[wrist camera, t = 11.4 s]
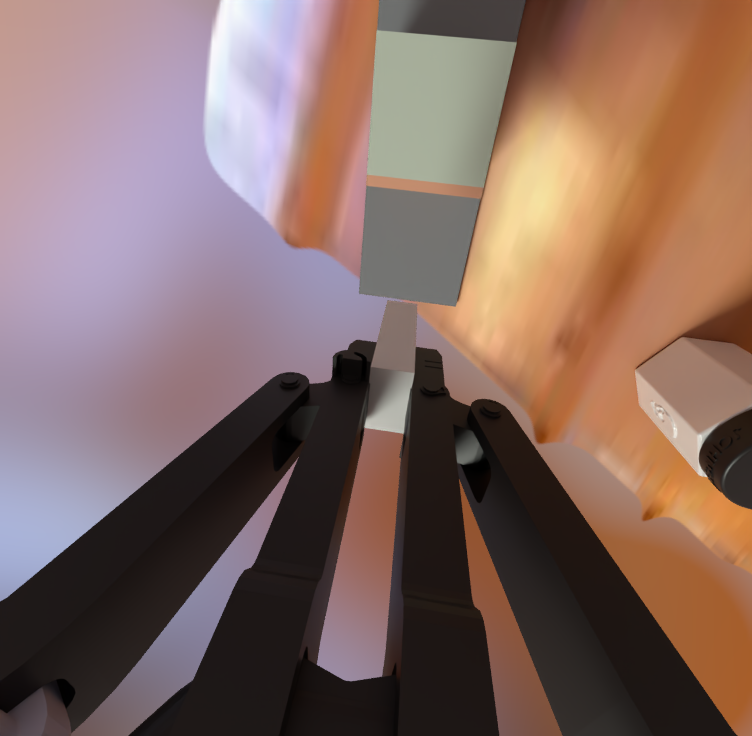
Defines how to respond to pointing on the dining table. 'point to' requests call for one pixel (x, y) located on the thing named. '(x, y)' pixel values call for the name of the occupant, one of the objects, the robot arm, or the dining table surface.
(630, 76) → the dining table surface
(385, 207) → the mat
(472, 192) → the block
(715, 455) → the jar
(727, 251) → the dining table surface
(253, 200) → the dining table surface
